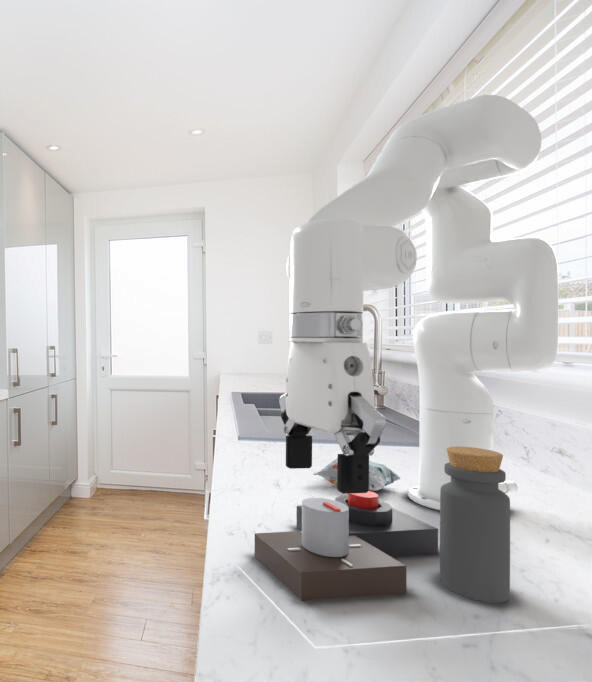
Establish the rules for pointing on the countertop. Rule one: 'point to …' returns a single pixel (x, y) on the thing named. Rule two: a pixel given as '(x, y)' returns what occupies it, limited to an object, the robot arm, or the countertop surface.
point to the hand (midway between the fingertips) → (323, 478)
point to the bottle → (475, 526)
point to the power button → (364, 500)
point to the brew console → (329, 568)
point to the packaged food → (377, 475)
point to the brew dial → (325, 527)
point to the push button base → (388, 529)
